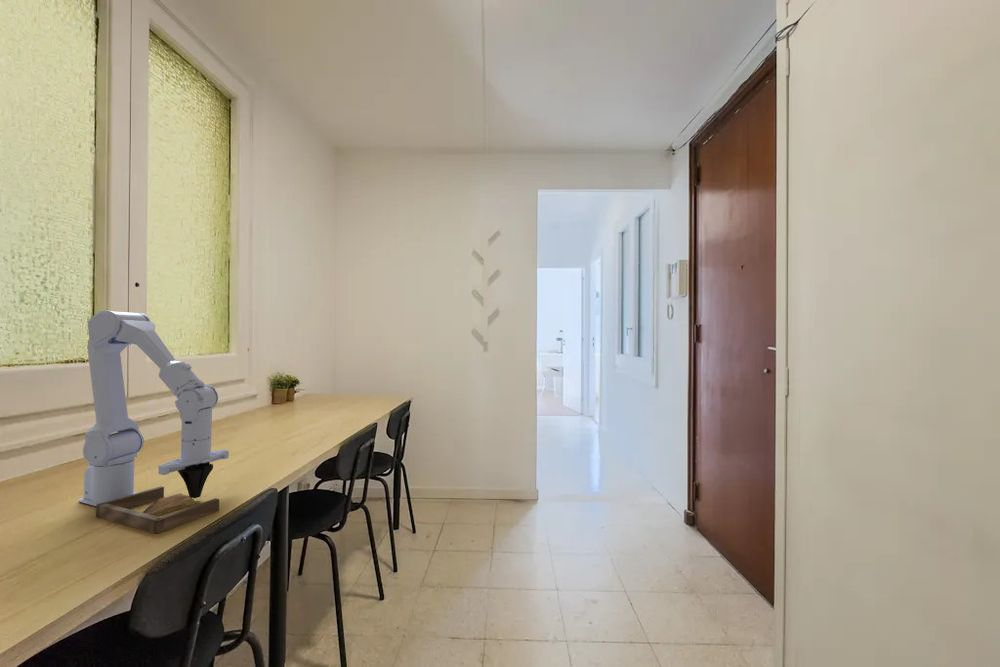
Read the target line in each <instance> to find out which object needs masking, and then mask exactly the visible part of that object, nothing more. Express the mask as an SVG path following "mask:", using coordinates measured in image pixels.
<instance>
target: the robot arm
mask: <svg viewBox="0 0 1000 667" xmlns="http://www.w3.org/2000/svg"><path fill="white" fill-rule="evenodd" d="M87 330H88V338H89V339H88V343H87V354H88V355H87V356H88V364H89V372H90V379H91V387H92V388H91V389H92V397H93V406H94V412H95V421H96V422H95V424H93V426H91V427H90V428H89V429H88V430H87V431H86V432H85V433H84V437H85V438H84V439H85V440H84V441H85V442H84V445H83V447H82V456H83V457H84V460H85V461H86V462H87V463H89V465H88V466H87V468H86V469H85V471H84V476H83V477H84V480H83V497H82V498H79V499H78V502H79V503H83V504H86V505H91V506H92V507H96V505H97V504H100V503H104V502H107V501H111V500H114V499H118V498H121V497H125V496H128V495H132V494H135V493H138V492H136V491H134V490H135V488H134V487H135V459H136V458H137V457H138V453H139V452H141V451H142V449H143V447H144V445H145V444H144V443H145V439H144V436H143V434H142V433H141V431H140V429H139V423H138V422H136V421H135V420H133V419H131V418H130V417H129V415H128V414H129V413H128V406H127V397H126V389H125V381H124V375H123V366H122V359H121V358H122V356H121V353H122V351H124V350H125V349H126V348H127V347H129V346H130V345H132V344H133V345H135V346H137V348H139V349H140V350H141V351H142V352H143V353H144V354H145V355H146V356H147V357H148V358H149V360H151V361H152V362H153V364H155V365H156V366H157V367H158V369H159V371H158V378H160V380H161V381H162V382H163V384H165V386H166V387H167V388H168V389H169V391H170V392H171V393H172V394H173V395H174V396H175V398H176V400H175V401H174V403H175V407H176V409H177V410H178V412H179V413H180V414H179V418H180V420H181V435H180V436H181V438H180V439H181V440H180V457H179V458H178V459H177V458H176V459H174V460H171V461H168V462H165V463H163V464H159V465H158V472H157V474H158V475H160V476H162V475H163V476H166V475H170V474H169V473H174V472H178V474H179V475H180V477H181V479H182V480H183V481H184V484H185V486H186V489H187V492H188V496H190V497H191V498H192V499H196V498H197V499H198V498H201V496H202V492H203V489H204V486H205V484H206V482H207V479H208V476H210V473H211V472H212V471H213V469H214V464H213V463H212V462H215V461H220V460H227V459H229V457H230V456H229V452H230V450H228V449H219V450H214V451H212V432H213V431H212V424H213V423H212V422H213V408H214V407H215V406H216V405H217V403H218V400H219V394H218V392H217V391H216V389H215V387H214V386H211V385H206V384H205V383H204V382H203V380H202V379H200V378H199V377H198V376H197V375H196V374H195V373H194V371H193V370H192V366H191V365H190V364H189V363H186V362H185V361H181V360H180V361H179V360H176V358H175V357H174V356H173V354H172V352H170V350H169V349H168V347H167V346H166V345H165V343H164V341H163V340H162V338H160V336H159V335H158V333H157V332H156V324H155V323H154V322H152V321H151V318H149V316H148V315H146V314H145V313H142V312H125V311H124V312H123V311H112V310H108V309H107V310H104V309H103V310H100V311H98V312H97V313H95V314H94V315H93V316H92V317H91V318H90V319H89V320H88V321H87Z"/></svg>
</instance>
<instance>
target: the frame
mask: <svg viewBox="0 0 1000 667" xmlns="http://www.w3.org/2000/svg"><path fill="white" fill-rule="evenodd" d="M162 498H165V486H162V485H161V486H157V487H153V488H149V489H146V490H143V491H140V492H137V493H135V494H132V495H128V496H125V497H121V498H118V499H114V500H111V501H107V502H104V503H100V504H97V505H96V506H95V508H96V509H95V517H97V518H100V519H103V520H107V521H110V522H115V523H117V524H122V525H125V526H128V527H132V528H135V529H139V530H141V531H145V532H149V533H153V534H156V535H158V534H160V533H163V532H166V531H168V530H171V529H173V528H176V527H179V526H181V525H182V526H183V525H184V524H186V523H189V522H192V521H195V520H199V519H200V518H204V517H206V516H207V515H211V514H214V513H216V512H219V511H220V498H216V497H215V498H213V499H210V500H206V501H204V502H200V503H198V504H194V505H191V506H188V507H187V508H184V509H183V508H182V509H181V510H178V511H174V512H171V513H170V514H167V515H163V516H153V515H149V514H145V513H143V512H140V511H137V510H134V509H131V508H134V507H137V506H140V505H144V504H147V503H151V502H155V501H156V500H158V499H162Z"/></svg>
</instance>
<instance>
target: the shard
mask: <svg viewBox="0 0 1000 667" xmlns="http://www.w3.org/2000/svg"><path fill="white" fill-rule="evenodd" d="M193 505H195V498H191V497H190V496H189V495H188V494H187V495H186V494H183V493H176V494H172V495H169V496H167V497H165V496H164V498H160V499H157V500H154V501H152V503H151V504H150V505H149V506H147V507H146V508H145V510H143V512H142V513H145V514H149V515H153V516H157V517H159V516H160V515H163V514H167V513H169V512H172V511H175V510H178V509H183V508H185V507H190V506H193Z"/></svg>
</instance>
